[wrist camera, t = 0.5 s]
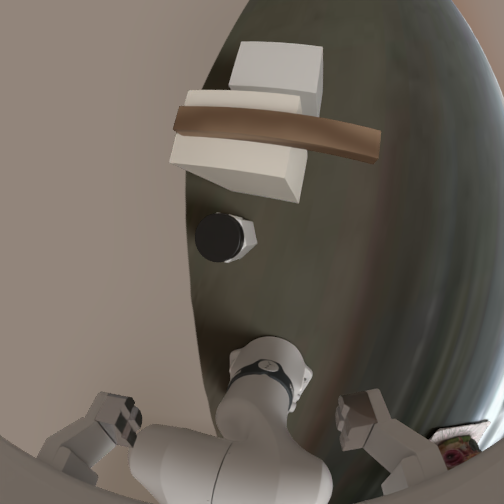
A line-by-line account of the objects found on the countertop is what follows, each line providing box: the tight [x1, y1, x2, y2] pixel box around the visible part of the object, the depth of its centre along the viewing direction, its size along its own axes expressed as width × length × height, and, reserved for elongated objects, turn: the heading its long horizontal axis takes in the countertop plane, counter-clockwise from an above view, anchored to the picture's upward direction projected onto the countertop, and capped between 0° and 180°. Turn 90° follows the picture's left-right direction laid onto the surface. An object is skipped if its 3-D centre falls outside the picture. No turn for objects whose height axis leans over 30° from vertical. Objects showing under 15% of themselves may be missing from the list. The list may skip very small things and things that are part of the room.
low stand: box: [229, 42, 323, 117], centre depth 44 cm, size 10×14×16 cm
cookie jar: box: [429, 421, 491, 470], centre depth 31 cm, size 25×25×32 cm
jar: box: [195, 212, 257, 263], centre depth 50 cm, size 9×8×12 cm
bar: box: [173, 106, 381, 164], centre depth 26 cm, size 3×22×2 cm, turn 79°
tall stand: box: [169, 90, 307, 203], centre depth 41 cm, size 10×14×26 cm
